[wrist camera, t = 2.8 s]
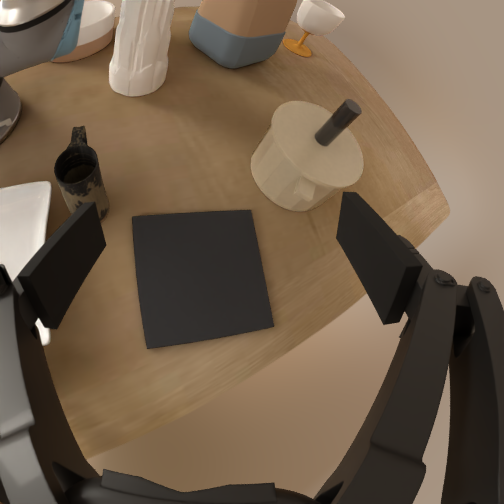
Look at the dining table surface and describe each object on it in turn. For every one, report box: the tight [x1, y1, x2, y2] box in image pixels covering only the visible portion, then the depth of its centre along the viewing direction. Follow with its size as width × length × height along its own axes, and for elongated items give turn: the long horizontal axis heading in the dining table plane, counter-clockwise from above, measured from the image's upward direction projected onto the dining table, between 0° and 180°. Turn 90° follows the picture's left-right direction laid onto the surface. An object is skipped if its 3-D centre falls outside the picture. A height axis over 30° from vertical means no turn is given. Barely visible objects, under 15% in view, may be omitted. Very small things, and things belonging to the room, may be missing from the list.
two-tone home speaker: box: [189, 0, 297, 69], centre depth 42 cm, size 17×17×23 cm
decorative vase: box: [109, 0, 175, 97], centre depth 30 cm, size 11×11×25 cm
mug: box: [54, 126, 109, 223], centre depth 28 cm, size 8×6×12 cm
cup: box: [283, 0, 345, 57], centre depth 55 cm, size 12×12×17 cm
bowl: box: [51, 0, 115, 63], centre depth 35 cm, size 17×17×8 cm
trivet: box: [132, 210, 274, 349], centre depth 36 cm, size 17×17×1 cm
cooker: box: [251, 106, 342, 212], centre depth 42 cm, size 15×20×10 cm
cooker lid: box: [271, 99, 364, 189], centre depth 35 cm, size 16×16×9 cm
